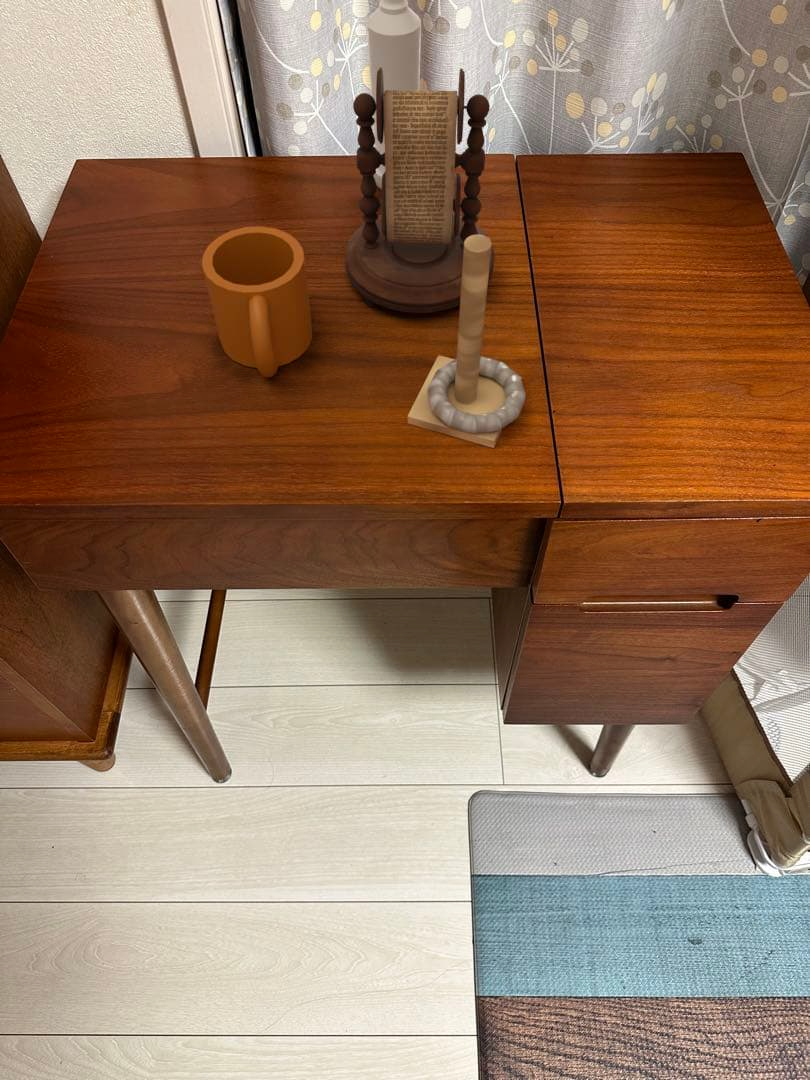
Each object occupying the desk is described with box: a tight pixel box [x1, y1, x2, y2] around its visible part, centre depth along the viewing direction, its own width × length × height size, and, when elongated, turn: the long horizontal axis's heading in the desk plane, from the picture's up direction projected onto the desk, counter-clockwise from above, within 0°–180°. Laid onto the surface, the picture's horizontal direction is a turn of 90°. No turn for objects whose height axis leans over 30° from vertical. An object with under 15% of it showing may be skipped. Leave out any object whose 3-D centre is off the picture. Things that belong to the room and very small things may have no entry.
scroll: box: [344, 67, 495, 314], centre depth 74 cm, size 15×15×20 cm
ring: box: [427, 355, 527, 434], centre depth 71 cm, size 8×8×2 cm
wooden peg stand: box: [407, 235, 522, 449], centre depth 66 cm, size 8×8×17 cm
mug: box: [201, 225, 313, 378], centre depth 73 cm, size 9×12×9 cm
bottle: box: [366, 0, 422, 191], centre depth 80 cm, size 5×5×25 cm
